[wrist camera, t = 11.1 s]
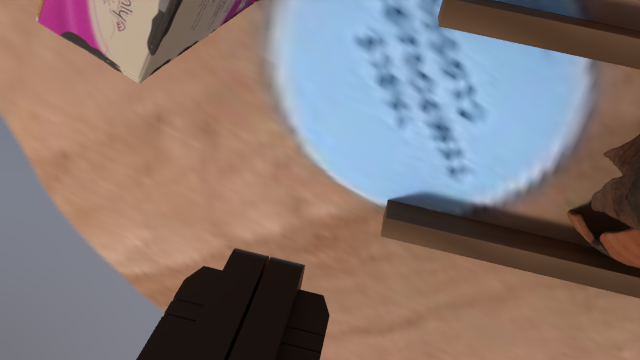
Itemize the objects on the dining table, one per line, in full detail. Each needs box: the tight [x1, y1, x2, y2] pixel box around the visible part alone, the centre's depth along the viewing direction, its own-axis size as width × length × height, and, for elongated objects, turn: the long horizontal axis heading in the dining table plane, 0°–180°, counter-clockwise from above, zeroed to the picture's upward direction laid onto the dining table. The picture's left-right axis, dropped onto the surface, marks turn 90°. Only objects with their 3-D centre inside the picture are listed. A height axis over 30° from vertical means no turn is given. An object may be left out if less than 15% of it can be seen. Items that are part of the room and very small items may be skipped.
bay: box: [381, 0, 640, 298], centre depth 35 cm, size 17×26×4 cm, turn 80°
